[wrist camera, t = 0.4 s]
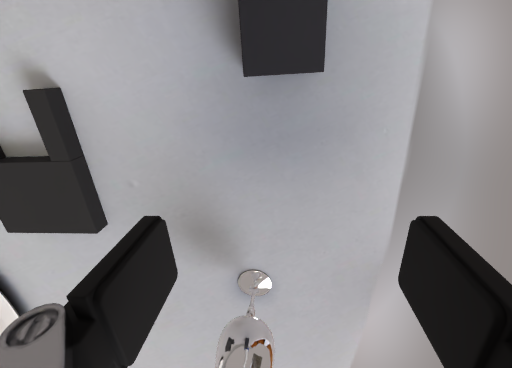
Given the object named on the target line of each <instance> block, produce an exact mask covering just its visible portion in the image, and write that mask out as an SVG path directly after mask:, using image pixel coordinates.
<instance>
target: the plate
mask: <svg viewBox="0 0 512 368" xmlns="http://www.w3.org/2000/svg"><path fill="white" fill-rule="evenodd" d="M18 317H20V315H19V314H18V312H17V311H16V309H15V308H14V307H13V305H12V304H11V303H10V301H9V300H8V299H7V298H6V296H5V295H4V294H3V293H2V292H1V291H0V335H1V334H2V332H3V331H4V330H5V329H6V328H7V327H8V326H9V325H10V324H11V323H12V322H13V321H14V320H16V319H17V318H18Z"/></svg>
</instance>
